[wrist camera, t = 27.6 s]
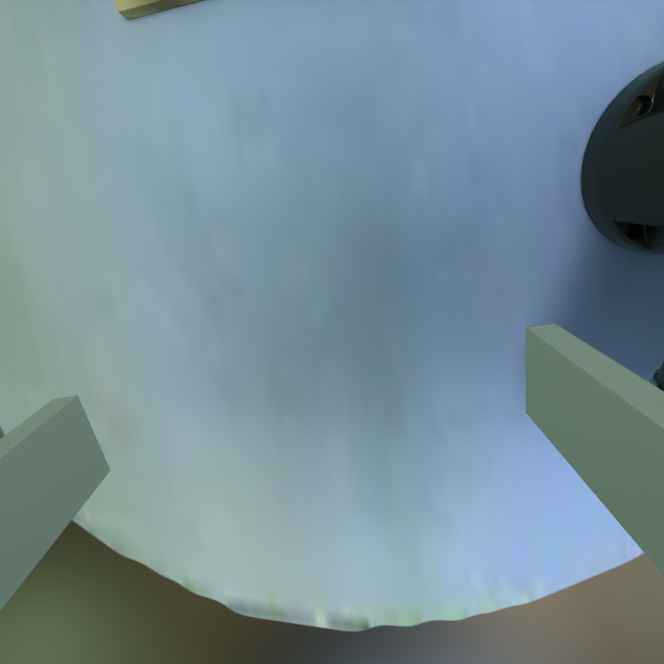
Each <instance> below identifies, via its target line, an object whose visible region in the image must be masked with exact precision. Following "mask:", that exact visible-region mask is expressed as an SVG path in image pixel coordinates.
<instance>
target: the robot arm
mask: <svg viewBox="0 0 664 664" xmlns="http://www.w3.org/2000/svg"><path fill="white" fill-rule="evenodd" d="M582 190H583V197H584V201H585V205H586V208H587V211H588V213H589V215H590V217H591V219H592V221H593V223H594V224H595V225H596V227H597V228H598V229H599V230H600V231H601V232H602V233H603V234H604V235H605V236H606V237H607V238H609V239H610V240H612V241H613V242H615V243H617V244H619V245H621V246H623V247H626V248H629V249H633V250H638V251H643V252H648V253H653V254H664V62H663V63H660V64H658V65H657V66H655V67H653V68H651V69H649V70H648V71H646V72H645V73H643V74H642V75H640V76H639V77H637V78H636V79H635V80H634V81H632V82H631V83H630V84H629V85H628V86H627V87H626V88H625V89H624V90H623V91H622V92H621V93H620V94H619V95H618V96H617V97H616V98H615V99H614V100H613V102H612V103H611V104H610V105H609V107H608V108H607V109H606V111H605V112H604V114H603V115H602V117H601V119H600V120H599V122H598V124H597V126H596V128H595V130H594V132H593V134H592V136H591V139H590V141H589V144H588V147H587V150H586V154H585V158H584V163H583V171H582ZM526 413H527V414H528V416H529V417H530V418H531V419H532V420H533V421H534V423H535V424H536V425H537V426H538V427H539V429H540V430H541V431H542V432H543V433H544V434H545V436H546V437H547V438H548V439H549V440H550V442H551V443H552V444H553V445H554V446H555V447H556V449H557V450H558V451H559V452H560V453H561V455H562V456H563V457H564V458H565V459H566V460H567V462H568V463H569V464H570V465H571V466H572V468H573V469H574V470H575V471H576V472H577V473H578V475H579V476H580V477H581V478H582V479H583V481H584V482H585V483H586V484H587V485H588V486H589V488H590V489H591V490H592V491H593V492H594V494H595V495H596V496H597V497H598V498H599V499H600V501H601V502H602V503H603V504H604V505H605V507H606V508H607V509H608V510H609V511H610V513H611V514H612V515H613V516H614V517H615V518H616V520H617V521H618V522H619V523H620V524H621V526H622V527H623V528H624V529H625V530H626V531H627V533H628V534H629V535H630V536H631V537H632V539H633V540H634V541H635V542H636V543H637V544H638V546H639V547H640V548H641V549H642V550H643V552H644V553H645V554H646V555H647V556H648V557H649V559H650V560H651V561H652V562H653V563H654V564H655V566H656V567H657V568H658V569H659V570H660V572H661V573H662V574H663V575H664V362H663V364H662V366H661V368H660V369H657V370H655V372H654V373H653V375H652V377H651V380H650V383H649V382H648V381H646V380H645V379H643V378H641V377H640V376H638V375H637V374H635V373H633V372H632V371H630V370H629V369H627V368H625V367H624V366H622V365H621V364H619V363H617V362H616V361H614V360H613V359H611V358H609V357H608V356H606V355H605V354H603V353H601V352H600V351H598V350H597V349H595V348H593V347H592V346H590V345H589V344H587V343H585V342H584V341H582V340H581V339H579V338H577V337H576V336H574V335H573V334H571V333H569V332H568V331H566V330H565V329H563V328H561V327H560V326H558V325H557V324H555V323H552V324H546V325H539V326H533V327H526ZM109 471H110V468H109V466H108V464H107V461H106V459H105V457H104V455H103V452H102V450H101V448H100V445H99V443H98V441H97V439H96V436H95V434H94V432H93V429H92V427H91V425H90V423H89V420H88V418H87V416H86V413H85V411H84V409H83V407H82V404H81V402H80V400H79V397H78V395H77V396H70V397H63V398H57V399H53V400H51V401H50V402H49V403H47V404H46V405H45V406H43V407H42V408H41V409H40V410H38V411H37V412H36V413H34V414H33V415H32V416H30V417H29V418H28V419H26V420H25V421H24V422H22V423H21V424H20V425H19V426H17V427H16V428H15V429H13V430H12V431H11V432H9V433H8V434H7V435H5V436H4V437H3V438H1V439H0V610H1V609H2V608H3V606H4V605H5V604H6V603H7V601H8V600H9V599H10V598H11V596H12V595H13V594H14V593H15V591H16V590H17V589H18V587H19V586H20V585H21V584H22V582H23V581H24V580H25V578H26V577H27V576H28V575H29V573H30V572H31V571H32V569H33V568H34V567H35V566H36V564H37V563H38V562H39V561H40V559H41V558H42V557H43V556H44V554H45V553H46V552H47V550H48V549H49V548H50V547H51V545H52V544H53V543H54V541H55V540H56V539H57V538H58V536H59V535H60V534H61V533H62V531H63V530H64V529H65V528H66V526H67V525H68V524H69V522H70V521H71V520H72V519H73V517H74V516H75V515H76V513H77V512H78V511H79V510H80V508H81V507H82V506H83V505H84V503H85V502H86V501H87V499H88V498H89V497H90V496H91V494H92V493H93V492H94V491H95V489H96V488H97V487H98V485H99V484H100V483H101V482H102V480H103V479H104V478H105V477H106V475H107V474H108V473H109Z"/></svg>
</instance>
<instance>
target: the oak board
mask: <svg viewBox="0 0 664 664" xmlns="http://www.w3.org/2000/svg"><path fill="white" fill-rule="evenodd" d="M114 1H115V4H116V7H117V10H118V12H119V13H120V14H121V15H123V16H124V17H125V18H126V19H128V20H129V19H133V18H137V17H141V16H145V15H148V14H152V13H156V12H160V11H164V10H168V9H171V8H175V7H179V6H183V5H187V4H190V3H194V2H198V1H202V0H114Z"/></svg>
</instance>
